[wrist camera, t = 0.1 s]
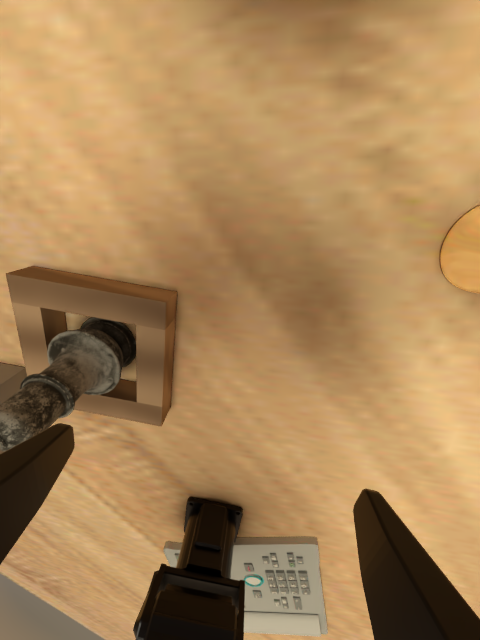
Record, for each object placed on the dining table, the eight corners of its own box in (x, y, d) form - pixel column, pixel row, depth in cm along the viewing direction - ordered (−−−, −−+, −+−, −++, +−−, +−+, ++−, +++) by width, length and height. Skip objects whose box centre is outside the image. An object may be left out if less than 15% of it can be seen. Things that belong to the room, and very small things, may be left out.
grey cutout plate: (331, 648, 40) (200, 640, 43) (327, 622, 42) (203, 616, 46) (319, 558, 31) (154, 556, 34) (315, 532, 33) (162, 533, 36)
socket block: (170, 407, 27) (161, 426, 25) (52, 384, 27) (32, 401, 25) (177, 291, 22) (166, 302, 20) (32, 266, 22) (5, 273, 20)
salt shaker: (143, 373, 26) (48, 503, 15) (82, 367, 26) (-53, 489, 15) (136, 315, 23) (17, 419, 12) (70, 309, 24) (-102, 405, 13)
